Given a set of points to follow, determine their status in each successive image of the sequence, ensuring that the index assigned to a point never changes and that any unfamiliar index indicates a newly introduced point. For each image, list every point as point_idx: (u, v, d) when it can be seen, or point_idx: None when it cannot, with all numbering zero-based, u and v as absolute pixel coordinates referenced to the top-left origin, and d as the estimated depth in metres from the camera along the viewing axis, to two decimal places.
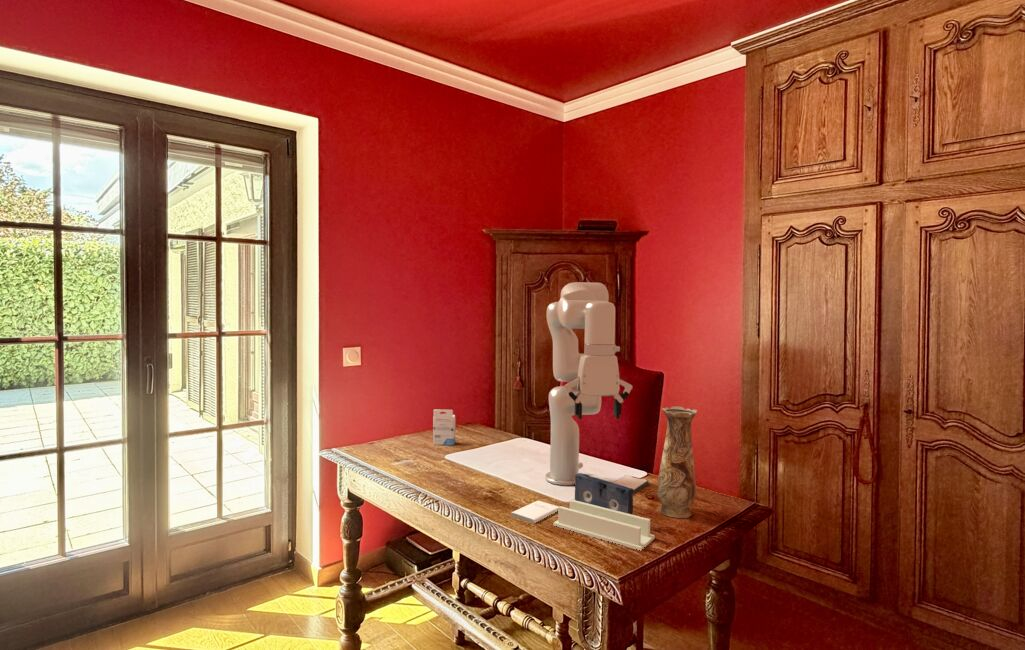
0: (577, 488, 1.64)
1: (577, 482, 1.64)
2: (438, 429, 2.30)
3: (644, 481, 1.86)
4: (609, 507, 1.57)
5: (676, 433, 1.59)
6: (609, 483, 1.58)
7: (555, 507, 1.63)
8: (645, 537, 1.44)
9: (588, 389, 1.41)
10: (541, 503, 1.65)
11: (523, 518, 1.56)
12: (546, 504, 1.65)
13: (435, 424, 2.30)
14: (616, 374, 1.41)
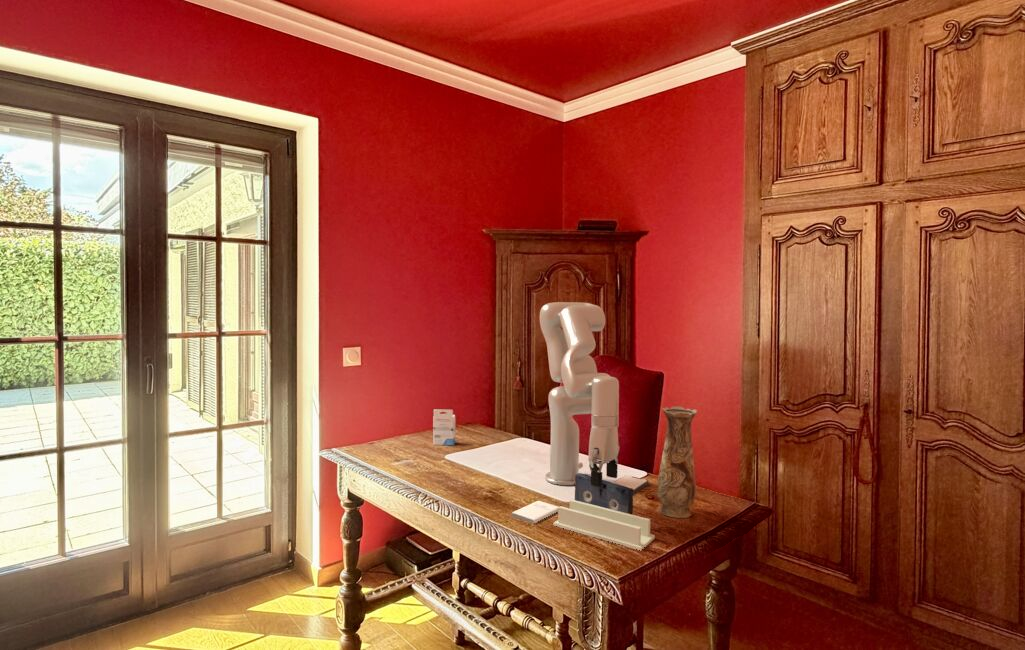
0: (577, 488, 1.64)
1: (577, 482, 1.64)
2: (438, 429, 2.30)
3: (644, 481, 1.86)
4: (609, 507, 1.57)
5: (676, 433, 1.59)
6: (609, 483, 1.58)
7: (555, 507, 1.62)
8: (645, 537, 1.44)
9: (606, 457, 1.55)
10: (541, 503, 1.65)
11: (523, 518, 1.56)
12: (546, 504, 1.65)
13: (435, 424, 2.30)
14: (617, 439, 1.60)
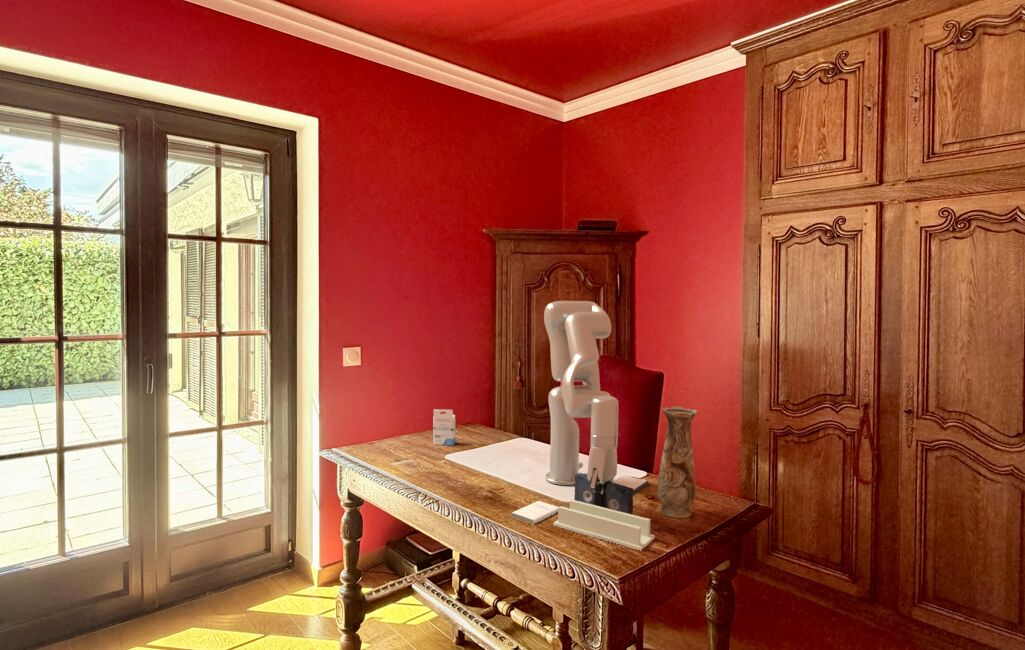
0: (577, 488, 1.64)
1: (577, 482, 1.64)
2: (438, 429, 2.30)
3: (644, 481, 1.85)
4: (609, 507, 1.57)
5: (676, 433, 1.59)
6: (609, 483, 1.58)
7: (555, 508, 1.62)
8: (645, 537, 1.44)
9: (605, 477, 1.55)
10: (541, 504, 1.65)
11: (523, 518, 1.56)
12: (546, 504, 1.65)
13: (435, 424, 2.30)
14: (616, 458, 1.61)
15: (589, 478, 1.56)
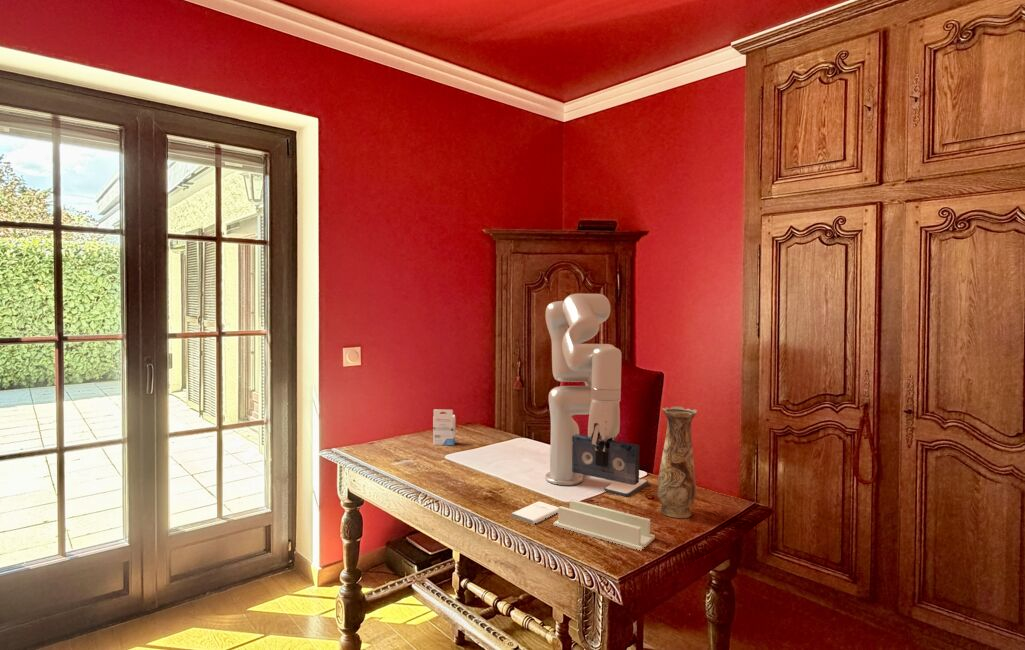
0: (575, 450, 1.51)
1: (575, 444, 1.51)
2: (438, 429, 2.30)
3: (644, 481, 1.85)
4: (613, 467, 1.45)
5: (676, 433, 1.59)
6: (612, 441, 1.46)
7: (556, 508, 1.62)
8: (645, 537, 1.44)
9: (607, 434, 1.44)
10: (542, 504, 1.65)
11: (523, 519, 1.55)
12: (547, 505, 1.64)
13: (435, 424, 2.30)
14: (619, 414, 1.49)
15: (590, 435, 1.44)
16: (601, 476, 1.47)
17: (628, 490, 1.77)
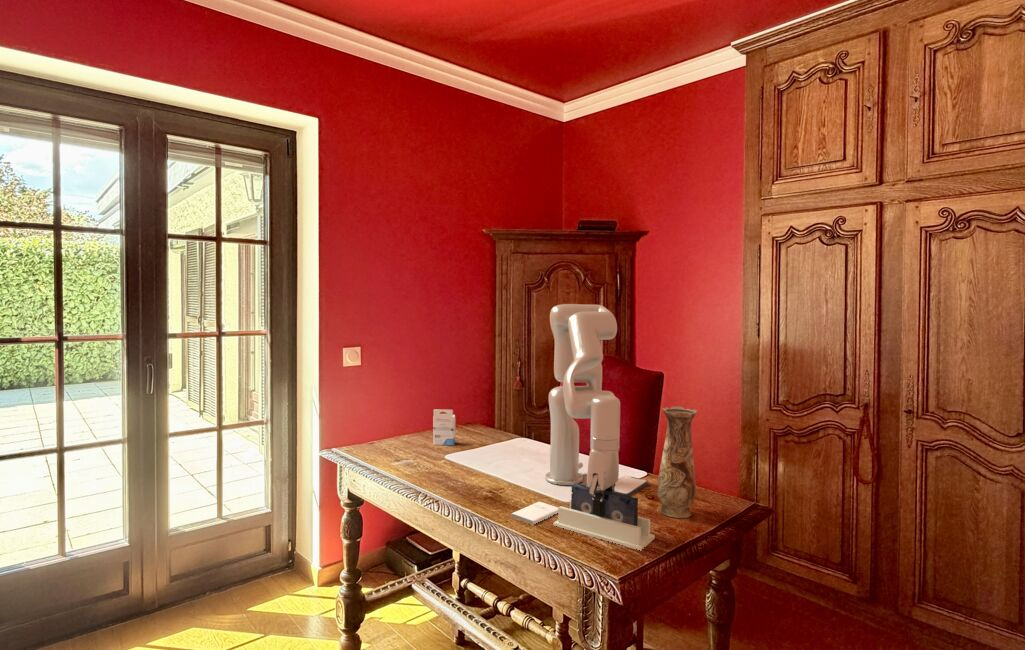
0: (574, 500, 1.52)
1: (574, 493, 1.52)
2: (438, 429, 2.30)
3: (643, 481, 1.85)
4: (611, 519, 1.46)
5: (676, 433, 1.59)
6: (611, 493, 1.47)
7: (556, 508, 1.62)
8: (645, 537, 1.44)
9: (606, 484, 1.44)
10: (542, 504, 1.64)
11: (523, 519, 1.55)
12: (547, 505, 1.64)
13: (435, 424, 2.30)
14: (618, 462, 1.50)
15: (589, 484, 1.45)
16: None
17: (628, 490, 1.77)
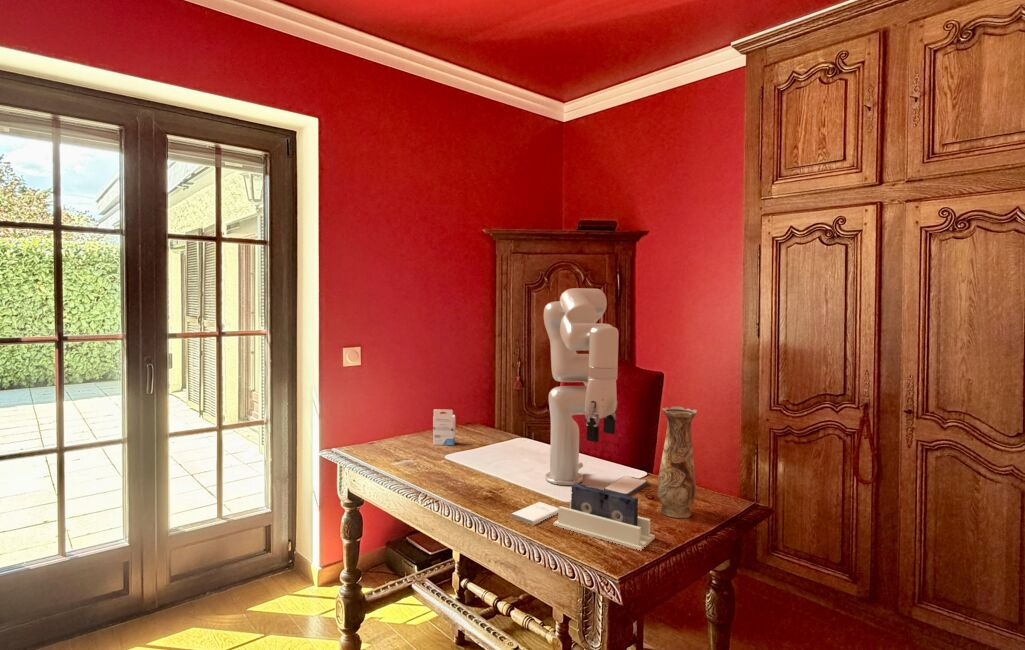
0: (574, 500, 1.52)
1: (574, 493, 1.52)
2: (438, 429, 2.30)
3: (643, 481, 1.85)
4: (611, 519, 1.46)
5: (676, 433, 1.59)
6: (611, 493, 1.47)
7: (556, 509, 1.61)
8: (645, 537, 1.44)
9: (604, 411, 1.45)
10: (542, 505, 1.64)
11: (522, 519, 1.55)
12: (547, 506, 1.64)
13: (435, 424, 2.30)
14: (616, 393, 1.51)
15: None
16: None
17: (627, 490, 1.77)
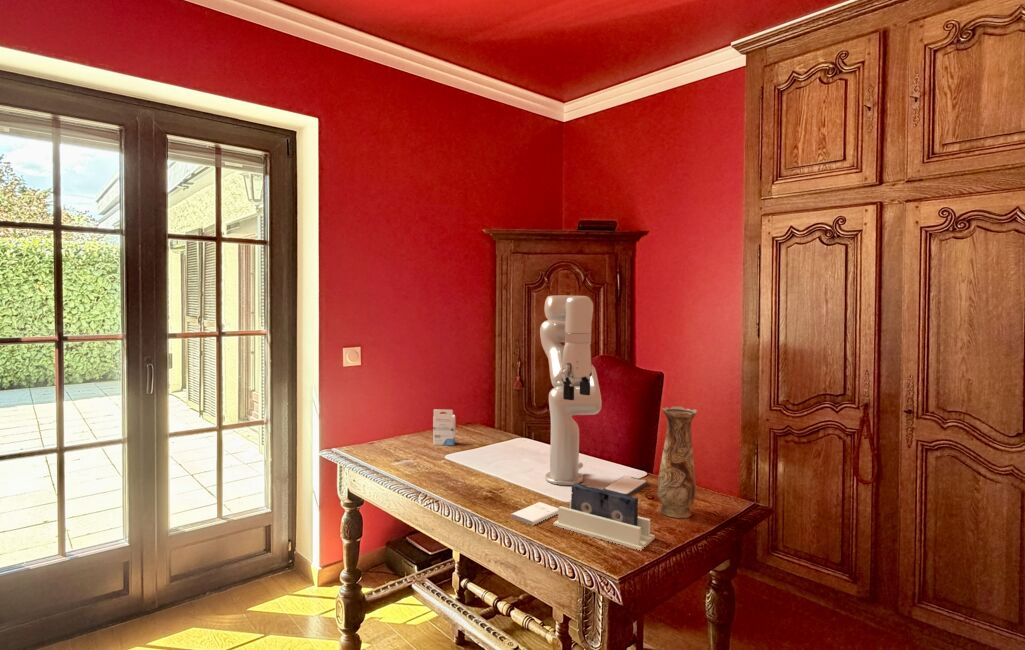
0: (574, 500, 1.52)
1: (574, 493, 1.52)
2: (438, 429, 2.30)
3: (643, 482, 1.85)
4: (611, 519, 1.46)
5: (676, 433, 1.59)
6: (611, 493, 1.47)
7: (556, 509, 1.61)
8: (645, 537, 1.44)
9: (578, 373, 1.61)
10: (542, 505, 1.64)
11: (522, 520, 1.55)
12: (547, 506, 1.63)
13: (435, 424, 2.30)
14: (590, 357, 1.67)
15: None
16: None
17: (627, 490, 1.77)
